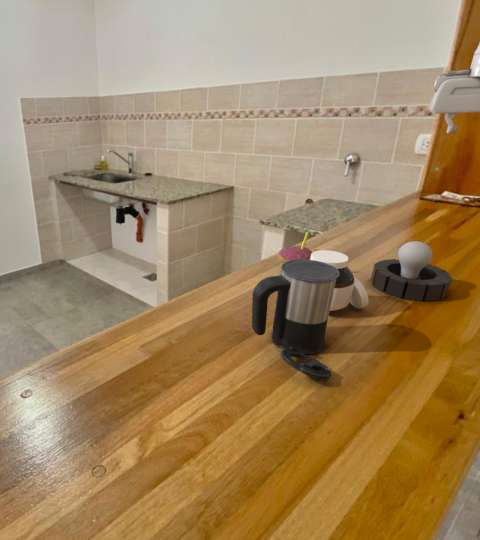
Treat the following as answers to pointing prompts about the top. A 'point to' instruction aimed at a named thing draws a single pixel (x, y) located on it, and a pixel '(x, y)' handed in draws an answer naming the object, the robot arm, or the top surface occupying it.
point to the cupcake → (295, 252)
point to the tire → (411, 281)
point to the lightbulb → (413, 258)
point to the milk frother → (298, 311)
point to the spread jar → (342, 282)
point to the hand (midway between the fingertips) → (475, 132)
